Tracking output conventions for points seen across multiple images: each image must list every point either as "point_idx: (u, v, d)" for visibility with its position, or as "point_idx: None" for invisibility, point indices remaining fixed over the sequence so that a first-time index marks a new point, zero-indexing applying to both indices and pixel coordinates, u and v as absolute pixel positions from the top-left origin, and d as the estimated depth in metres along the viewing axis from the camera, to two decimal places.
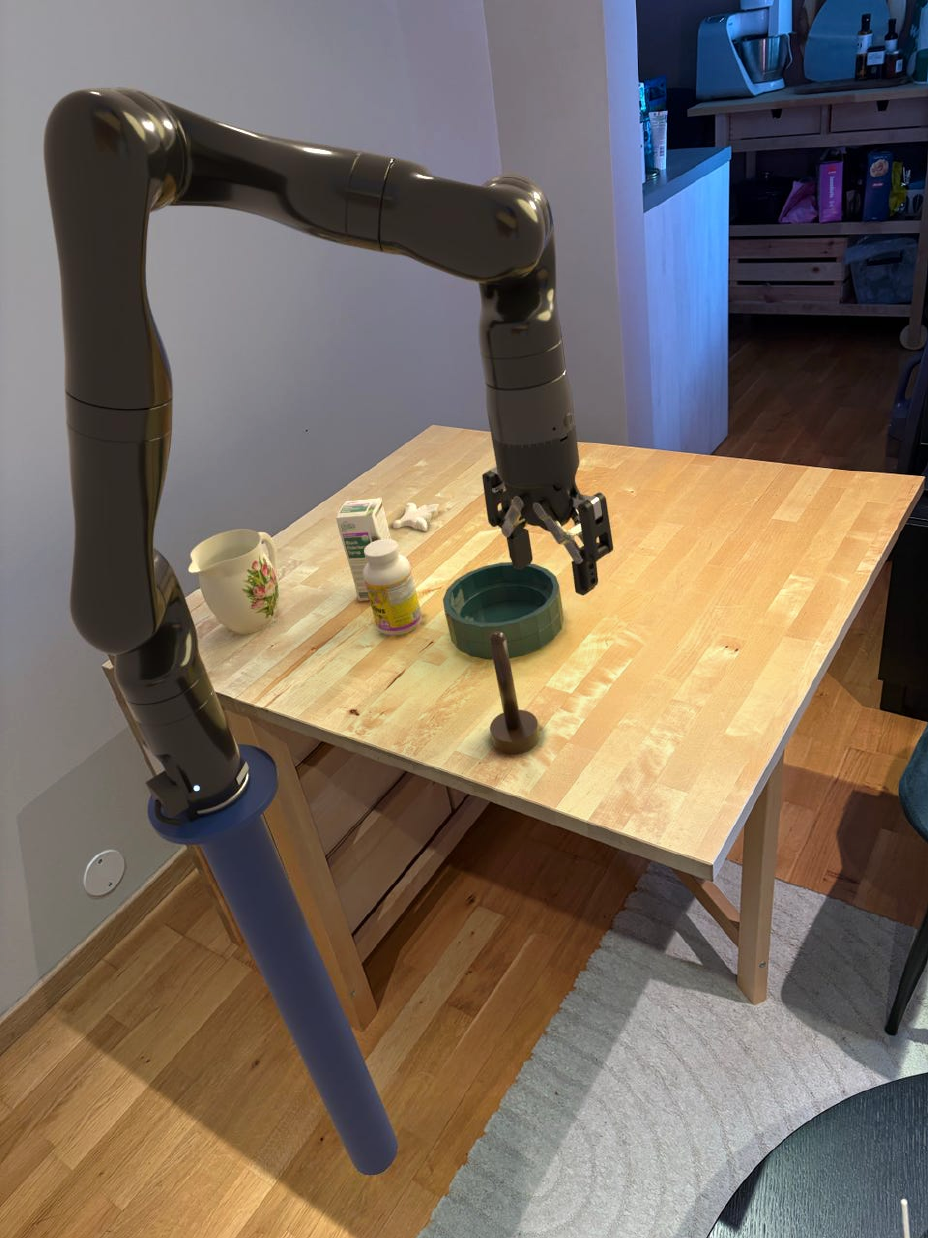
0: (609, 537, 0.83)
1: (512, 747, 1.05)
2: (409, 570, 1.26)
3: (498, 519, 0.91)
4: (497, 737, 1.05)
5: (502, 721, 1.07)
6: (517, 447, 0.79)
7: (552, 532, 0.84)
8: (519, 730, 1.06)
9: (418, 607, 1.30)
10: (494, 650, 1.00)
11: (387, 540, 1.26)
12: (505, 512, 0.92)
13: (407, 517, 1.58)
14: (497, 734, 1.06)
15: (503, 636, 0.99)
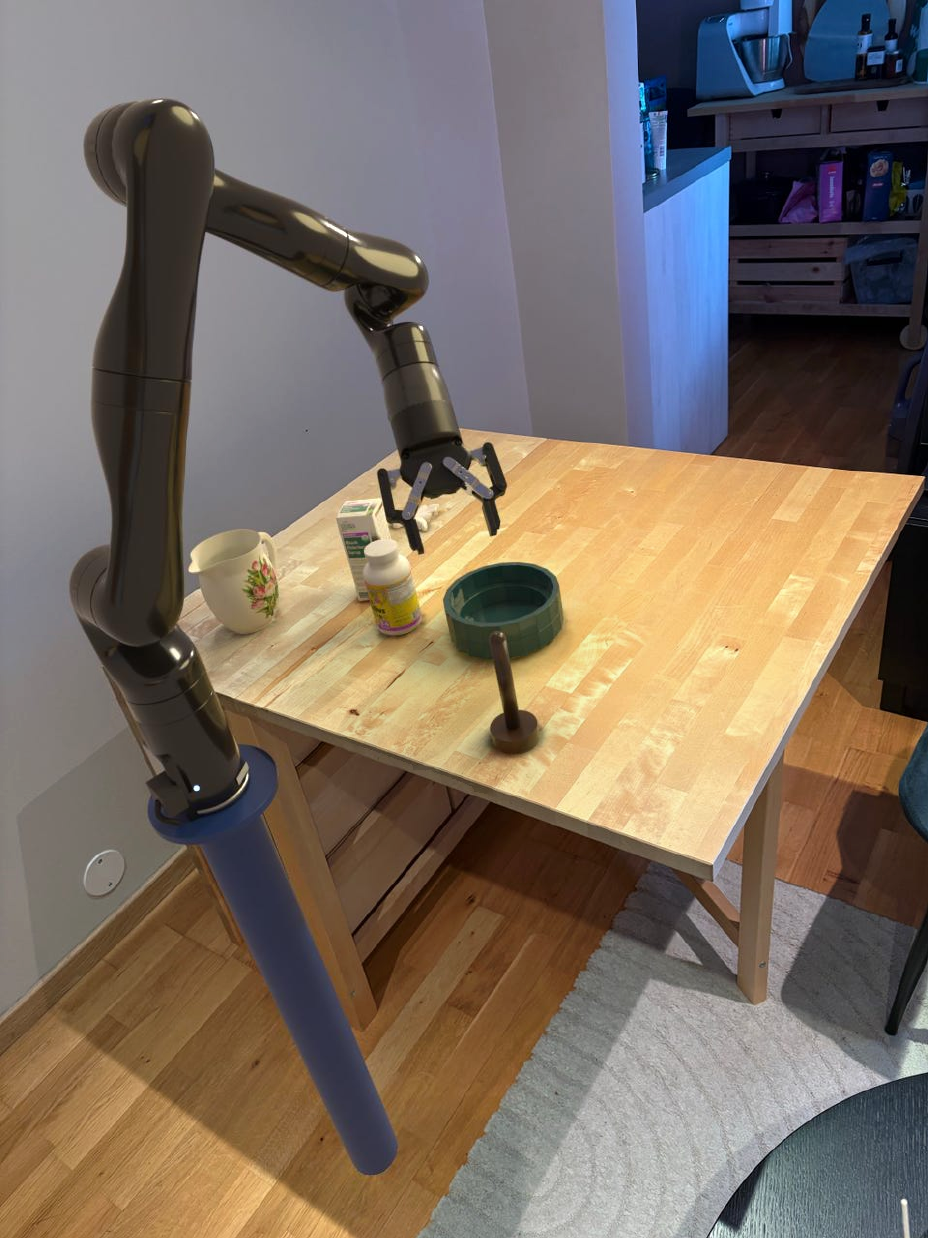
0: None
1: (512, 747, 1.05)
2: (409, 570, 1.26)
3: None
4: (497, 737, 1.05)
5: (502, 721, 1.07)
6: (434, 401, 1.04)
7: (464, 478, 1.04)
8: (519, 730, 1.06)
9: (418, 607, 1.30)
10: (494, 650, 1.00)
11: (387, 540, 1.26)
12: None
13: None
14: (497, 734, 1.06)
15: (503, 636, 0.99)
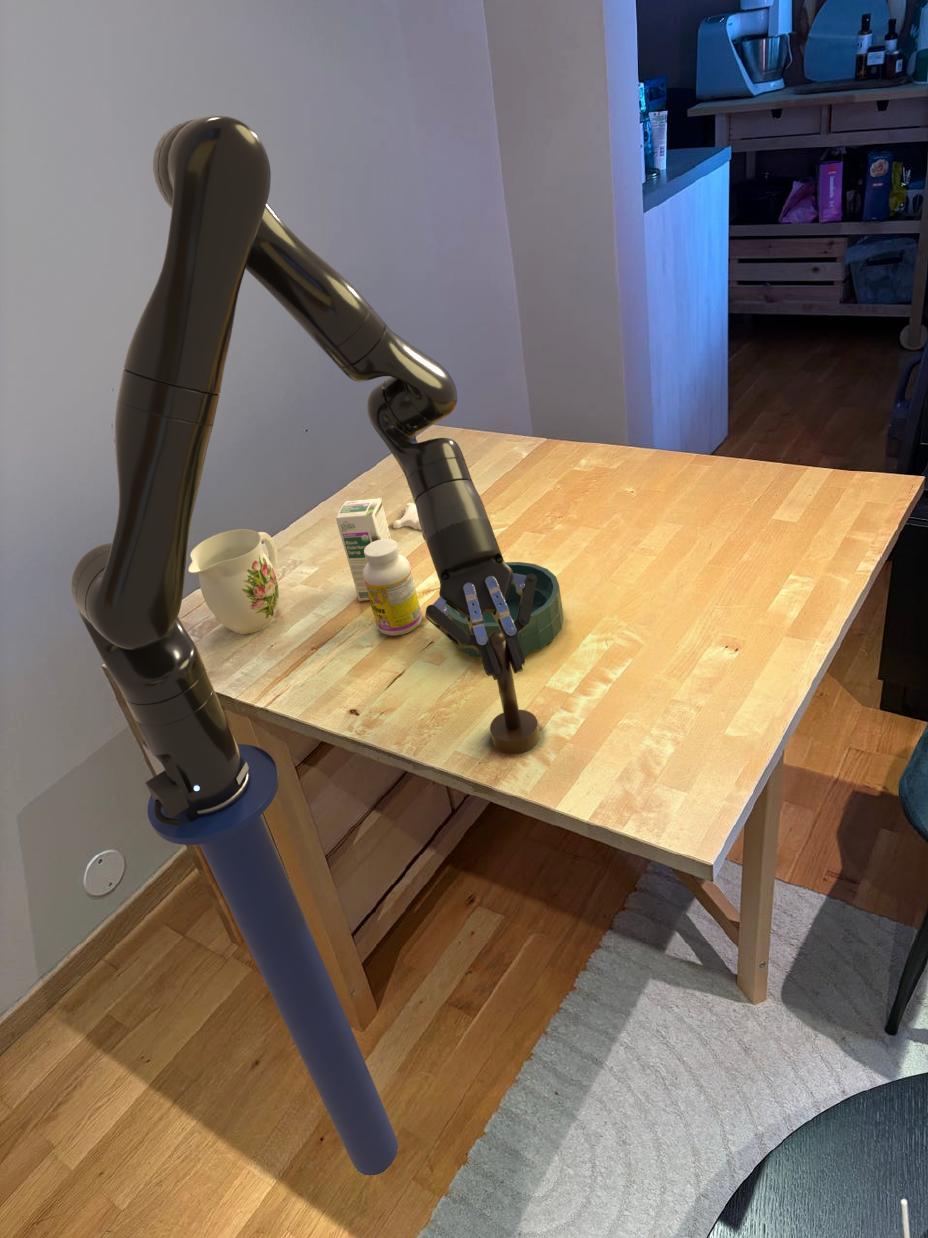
0: None
1: (512, 747, 1.05)
2: (409, 570, 1.26)
3: None
4: (497, 737, 1.05)
5: (502, 721, 1.07)
6: (473, 520, 1.00)
7: (496, 604, 1.00)
8: (519, 730, 1.06)
9: (418, 607, 1.30)
10: (494, 650, 1.00)
11: (387, 540, 1.26)
12: None
13: (407, 517, 1.58)
14: (497, 734, 1.06)
15: (503, 636, 0.99)
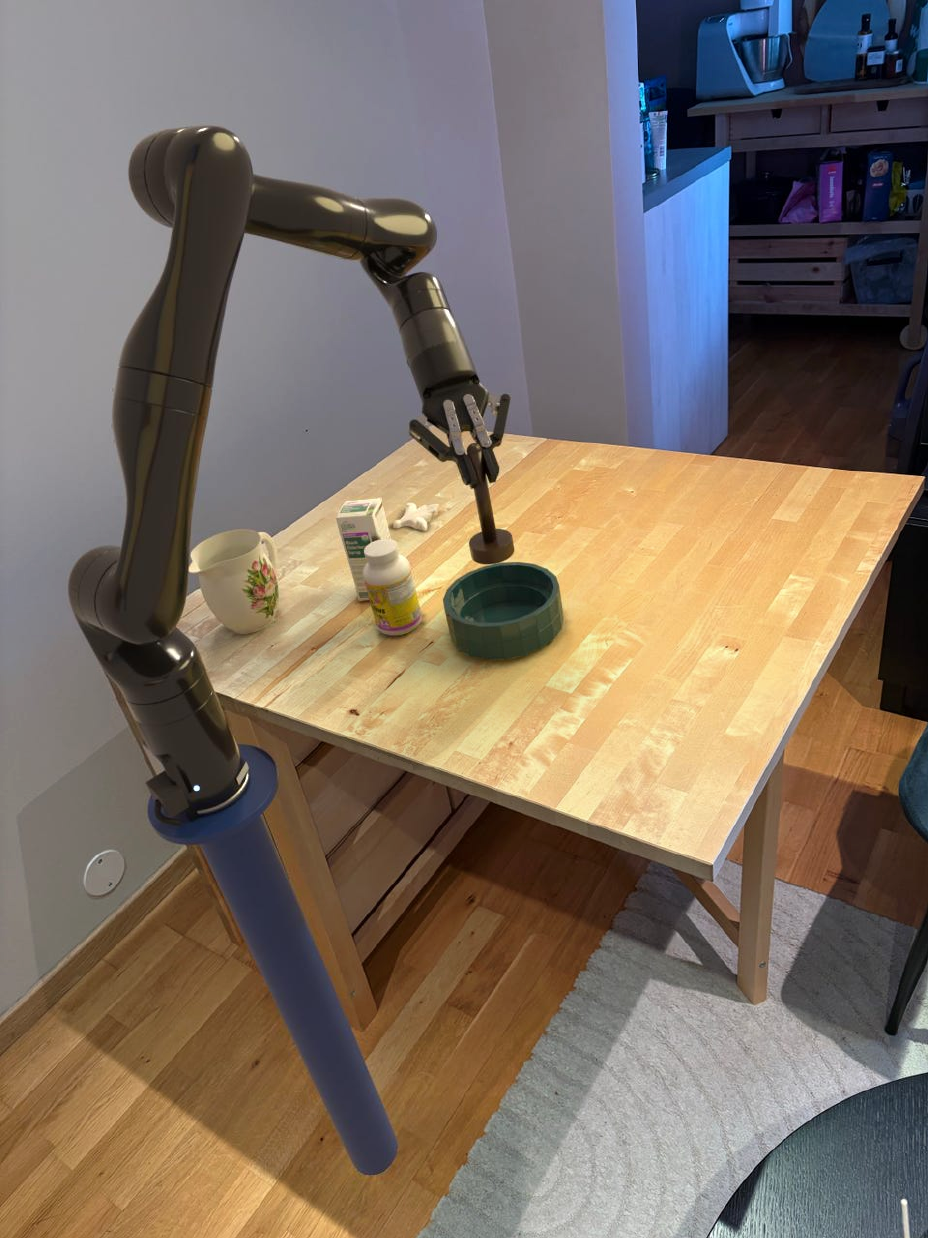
0: None
1: (489, 557, 1.15)
2: (409, 570, 1.26)
3: None
4: (475, 548, 1.15)
5: (480, 537, 1.18)
6: (452, 343, 1.10)
7: (473, 418, 1.10)
8: (495, 542, 1.16)
9: (418, 607, 1.30)
10: (471, 460, 1.10)
11: (387, 540, 1.26)
12: None
13: (407, 517, 1.58)
14: (475, 547, 1.16)
15: (479, 447, 1.09)
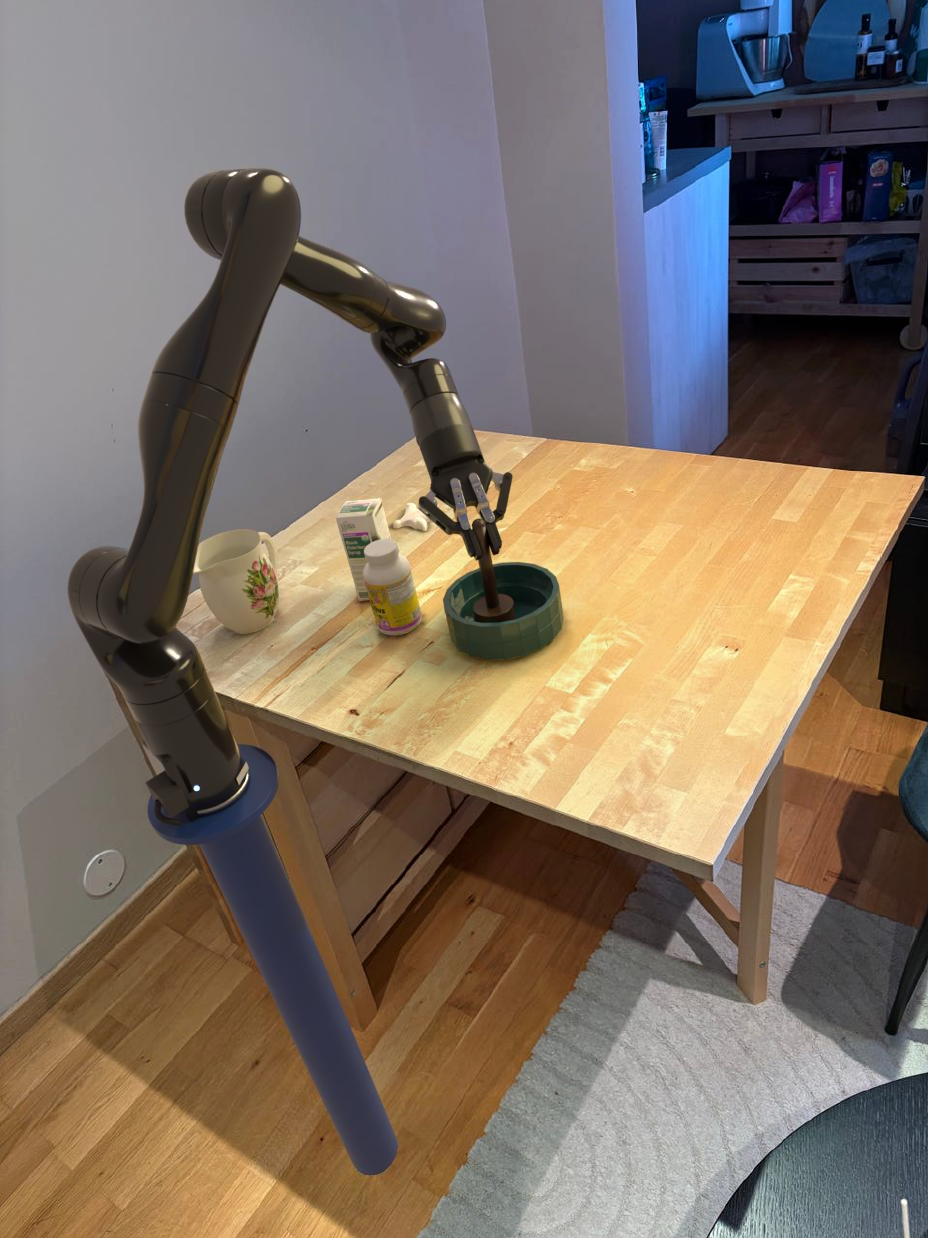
0: None
1: (491, 622, 1.23)
2: (409, 570, 1.26)
3: None
4: (479, 613, 1.24)
5: (483, 602, 1.26)
6: (459, 425, 1.19)
7: (478, 496, 1.19)
8: (498, 608, 1.24)
9: (418, 607, 1.30)
10: (476, 534, 1.18)
11: (387, 540, 1.26)
12: None
13: (407, 517, 1.58)
14: (479, 612, 1.24)
15: (483, 522, 1.18)
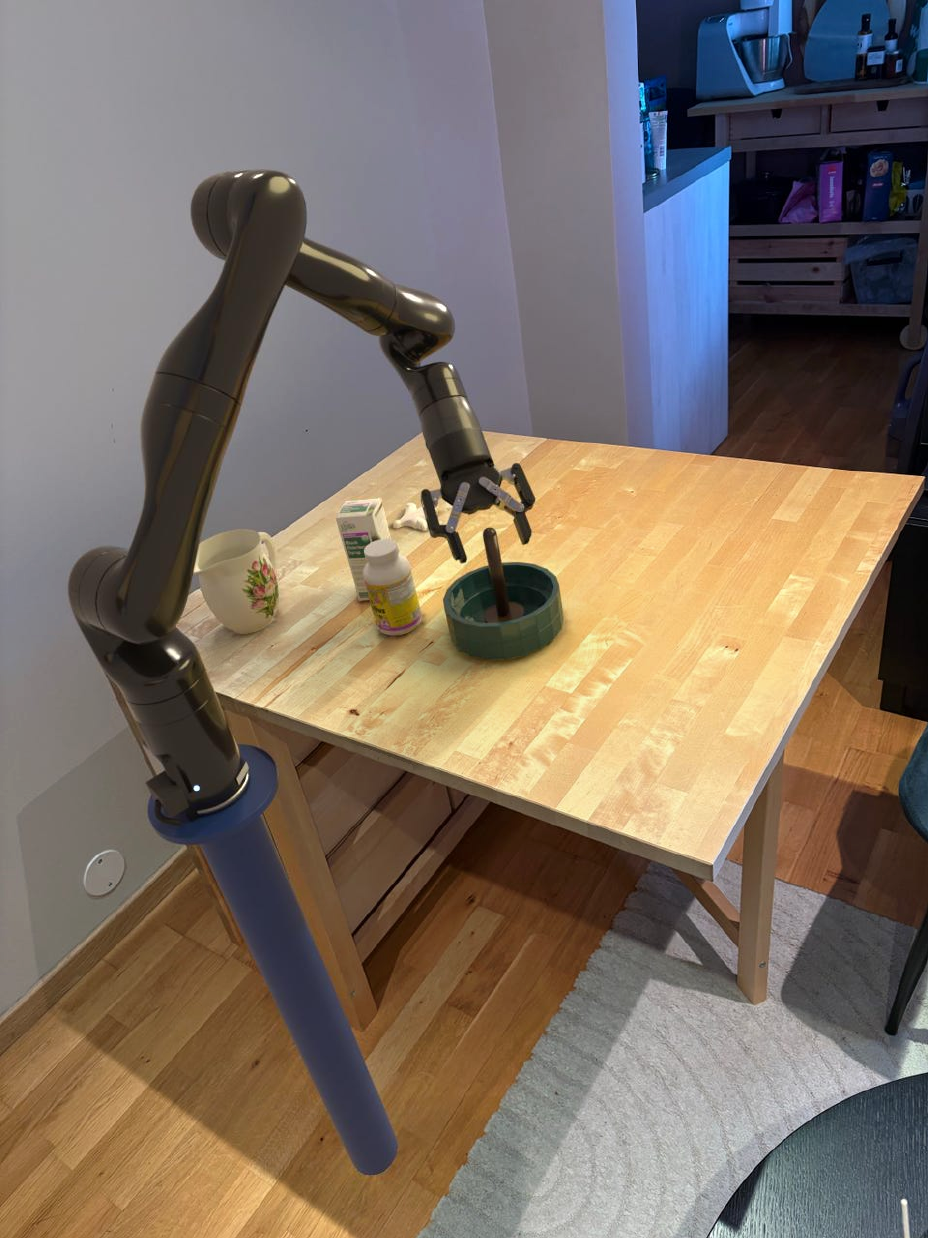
0: None
1: None
2: (409, 570, 1.26)
3: None
4: (490, 622, 1.24)
5: (494, 610, 1.26)
6: (469, 429, 1.18)
7: (498, 494, 1.18)
8: (509, 616, 1.24)
9: (418, 607, 1.30)
10: (487, 543, 1.18)
11: (387, 540, 1.26)
12: None
13: (407, 517, 1.58)
14: (489, 620, 1.24)
15: (494, 531, 1.18)
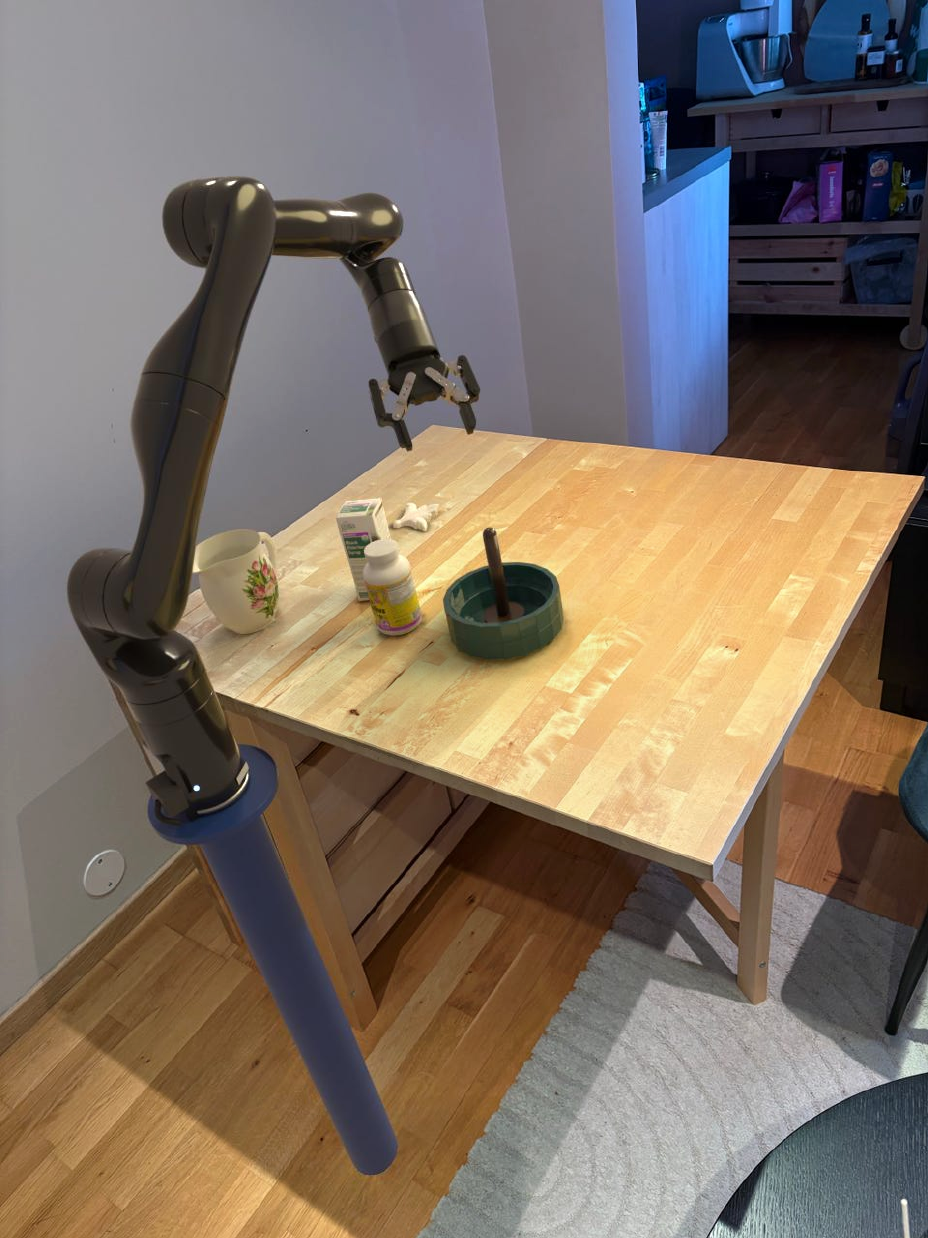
0: None
1: None
2: (409, 570, 1.26)
3: None
4: (490, 622, 1.24)
5: (494, 610, 1.26)
6: (415, 320, 1.22)
7: (443, 384, 1.22)
8: (509, 616, 1.24)
9: (418, 607, 1.30)
10: (487, 543, 1.18)
11: (387, 540, 1.26)
12: None
13: (407, 517, 1.58)
14: (489, 620, 1.24)
15: (494, 531, 1.18)
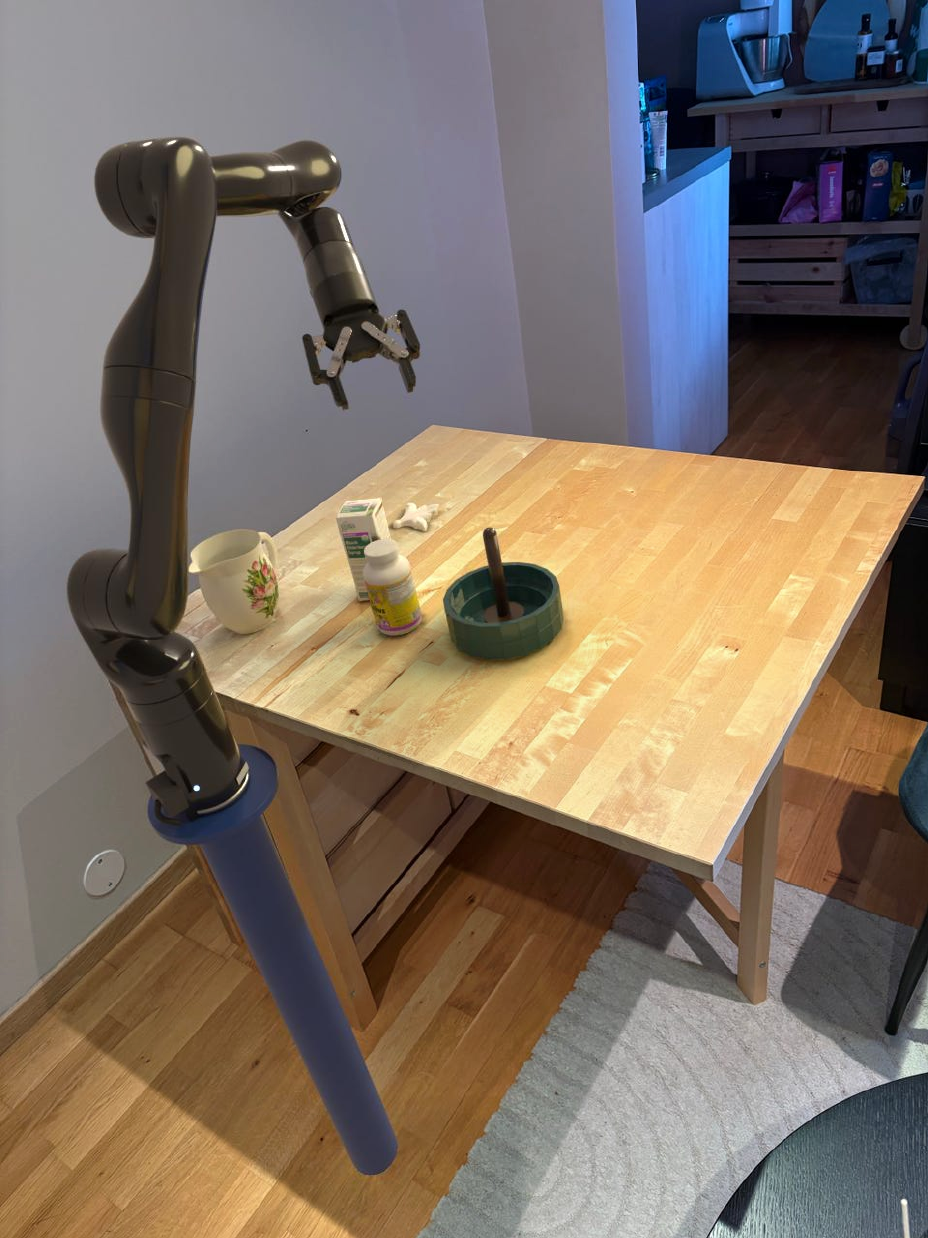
0: None
1: None
2: (409, 570, 1.26)
3: None
4: (490, 622, 1.24)
5: (494, 610, 1.26)
6: (351, 272, 1.16)
7: (381, 339, 1.16)
8: (509, 616, 1.24)
9: (418, 607, 1.30)
10: (487, 543, 1.18)
11: (387, 540, 1.26)
12: None
13: (407, 517, 1.58)
14: (489, 620, 1.24)
15: (494, 531, 1.18)
